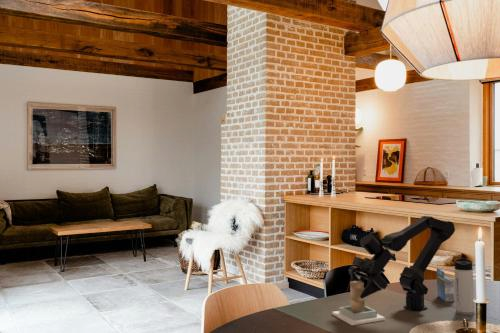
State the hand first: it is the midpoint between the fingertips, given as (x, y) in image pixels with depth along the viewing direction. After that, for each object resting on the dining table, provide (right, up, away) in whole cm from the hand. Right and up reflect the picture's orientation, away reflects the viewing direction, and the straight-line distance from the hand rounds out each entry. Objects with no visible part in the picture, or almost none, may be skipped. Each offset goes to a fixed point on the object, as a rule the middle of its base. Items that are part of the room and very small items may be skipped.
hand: (354, 294), depth 178 cm
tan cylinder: (+2, -8, 0) cm, 8 cm away
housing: (+2, -9, 0) cm, 9 cm away
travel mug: (+42, -7, +2) cm, 43 cm away
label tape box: (+43, -8, +21) cm, 48 cm away
